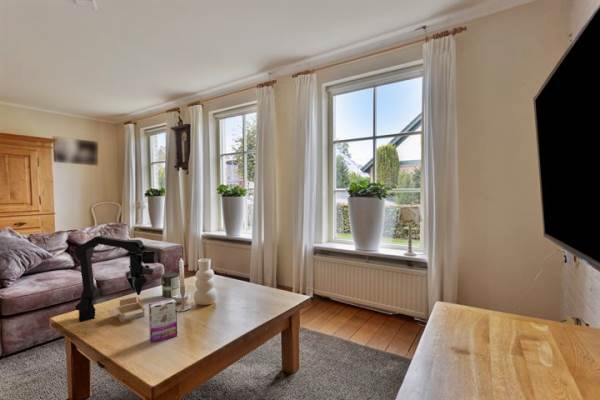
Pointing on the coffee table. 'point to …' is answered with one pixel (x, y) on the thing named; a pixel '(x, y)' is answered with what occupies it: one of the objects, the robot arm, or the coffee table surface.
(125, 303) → the flap left
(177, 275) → the coffee can
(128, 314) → the carton
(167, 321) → the candy bar box
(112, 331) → the coffee table surface
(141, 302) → the flap far
